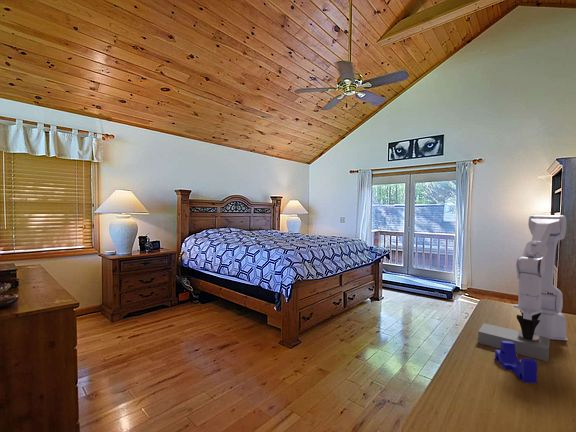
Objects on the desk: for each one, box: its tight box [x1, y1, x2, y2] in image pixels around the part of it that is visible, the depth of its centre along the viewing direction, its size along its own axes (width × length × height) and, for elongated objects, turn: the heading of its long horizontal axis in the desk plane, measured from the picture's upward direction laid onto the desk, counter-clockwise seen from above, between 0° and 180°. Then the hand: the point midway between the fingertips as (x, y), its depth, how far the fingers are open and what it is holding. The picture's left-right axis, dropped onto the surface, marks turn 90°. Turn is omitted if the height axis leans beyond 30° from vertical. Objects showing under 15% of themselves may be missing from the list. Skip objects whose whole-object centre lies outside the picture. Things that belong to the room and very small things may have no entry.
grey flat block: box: [477, 323, 550, 363], centre depth 98 cm, size 18×10×4 cm, turn 47°
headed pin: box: [518, 329, 539, 342], centre depth 95 cm, size 5×5×5 cm
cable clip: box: [494, 341, 538, 385], centre depth 83 cm, size 12×4×6 cm, turn 169°
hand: (528, 335), depth 95 cm, fingers open, 7 cm apart
